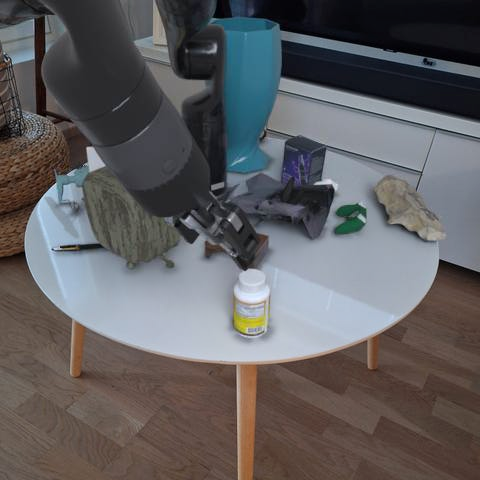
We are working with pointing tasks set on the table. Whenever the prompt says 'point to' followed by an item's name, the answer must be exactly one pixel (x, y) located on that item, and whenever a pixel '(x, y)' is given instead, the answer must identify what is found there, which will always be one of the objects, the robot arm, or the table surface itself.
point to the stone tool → (408, 208)
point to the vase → (250, 87)
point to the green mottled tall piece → (125, 221)
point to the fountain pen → (79, 247)
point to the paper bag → (268, 198)
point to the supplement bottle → (251, 303)
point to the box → (303, 161)
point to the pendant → (73, 205)
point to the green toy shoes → (352, 217)
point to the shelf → (210, 248)
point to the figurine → (328, 181)
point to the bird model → (287, 194)
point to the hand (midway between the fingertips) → (220, 250)
